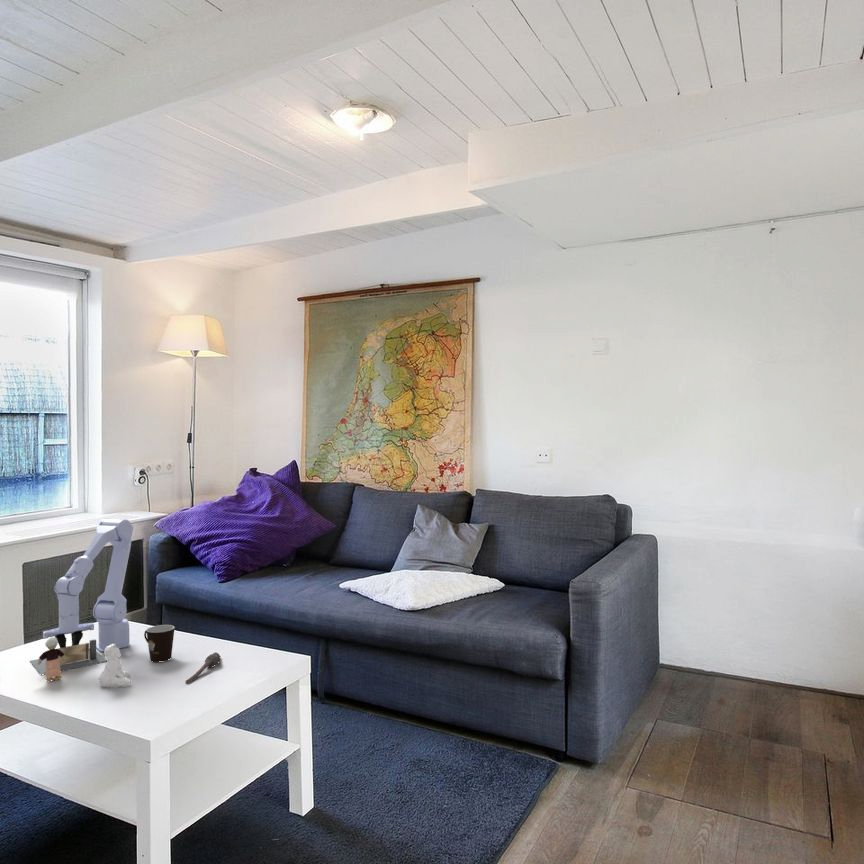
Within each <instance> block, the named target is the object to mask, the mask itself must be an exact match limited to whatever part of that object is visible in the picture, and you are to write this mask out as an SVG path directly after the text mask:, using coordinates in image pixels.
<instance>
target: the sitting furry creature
mask: <svg viewBox="0 0 864 864" xmlns="http://www.w3.org/2000/svg"><path fill="white" fill-rule="evenodd" d="M120 649H121V648H116V646H115V644H110V646H107V647H106V648H105V650H104V651H103V654H104V658H105V659H106V660H107V662H105V665H104V669H103V670H102V672H101V674H100V676H99V678H98V680H99V684H100V685H101V686H103V687H104V688H106V689H107V688H109V689H110V688H129V687H131V686H132V679H130V678H131V675H132V674H131V672H130V671H129V670H123V669H122V667H123V666H122V663H121V660H120V657H121V656H122V654H121V651H120Z"/></svg>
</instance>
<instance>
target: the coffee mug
mask: <svg viewBox="0 0 864 864" xmlns="http://www.w3.org/2000/svg"><path fill="white" fill-rule="evenodd" d="M174 635H175V626H174V625H171V624H160V625H153V626H151V627H148V628H147V629H146V630H145V631H144V634H143V637H144V640H145V641H146V643H147V645H148V653H149V659H150V660H151V661H153V662H152V663H160V662H159V661H165V660H168V659H170V658H171V659H172V654H173V647H174V646H173V644H174ZM171 659H170V660H171ZM150 660H149V661H150ZM151 661H150V662H151ZM168 661H169V660H168ZM165 662H166V661H165Z"/></svg>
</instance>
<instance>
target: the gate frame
mask: <svg viewBox="0 0 864 864" xmlns="http://www.w3.org/2000/svg"><path fill="white" fill-rule="evenodd" d="M96 645H97V639H91V640H89V659H85V660H81V661H76V662H71V663H67V664H62V665H60V670H61V672H64V671H63V670H65V671H68V670H69V669H70V670H74V669H78V668H83V666H84V667H87V665H88V666H93V665H96V663H98V664H101V663H100V662H102V663H106V661H108V659H107V658H106V657H105V656H103V655H101V653H100V652H98V651H97V648H96ZM46 659H47V658H46ZM46 659H44V660H42V662H41V664H40V665H38V664H37V662H38V660H39V658H38V659H33V660H29V662H30V664H31V663H32V664H31V665H32V666H33V667H34V669H35V668H36V669H37V670H38V671H37V670H36V669H35V670H36V671H37V672H38V674H39V673H40V674H41V675H40V674H39V675H40V676H43V675H42V674H46ZM92 664H93V665H92Z"/></svg>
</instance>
